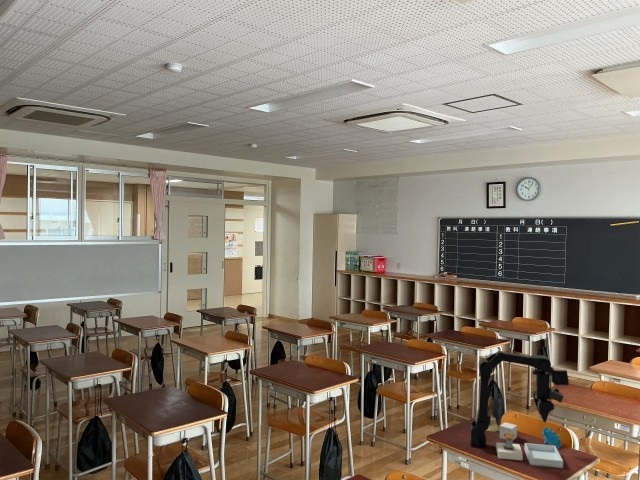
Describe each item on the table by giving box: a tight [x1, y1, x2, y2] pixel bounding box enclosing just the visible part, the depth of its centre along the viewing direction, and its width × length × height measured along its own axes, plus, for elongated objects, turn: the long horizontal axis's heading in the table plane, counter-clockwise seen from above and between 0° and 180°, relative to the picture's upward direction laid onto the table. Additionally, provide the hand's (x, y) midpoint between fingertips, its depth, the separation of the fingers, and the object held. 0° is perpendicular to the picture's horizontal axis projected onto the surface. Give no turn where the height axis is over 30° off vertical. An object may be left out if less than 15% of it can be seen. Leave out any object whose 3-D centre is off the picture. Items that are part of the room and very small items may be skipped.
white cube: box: [499, 422, 518, 441], centre depth 252 cm, size 6×6×6 cm
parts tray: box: [523, 442, 564, 469], centre depth 229 cm, size 13×16×3 cm
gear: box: [542, 426, 562, 449], centre depth 244 cm, size 11×6×10 cm
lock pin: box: [504, 433, 514, 450], centre depth 233 cm, size 4×4×9 cm
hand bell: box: [485, 396, 500, 433], centre depth 264 cm, size 8×8×16 cm
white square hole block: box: [495, 441, 524, 461], centre depth 233 cm, size 10×10×3 cm
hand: (542, 418), depth 237 cm, fingers open, 9 cm apart
